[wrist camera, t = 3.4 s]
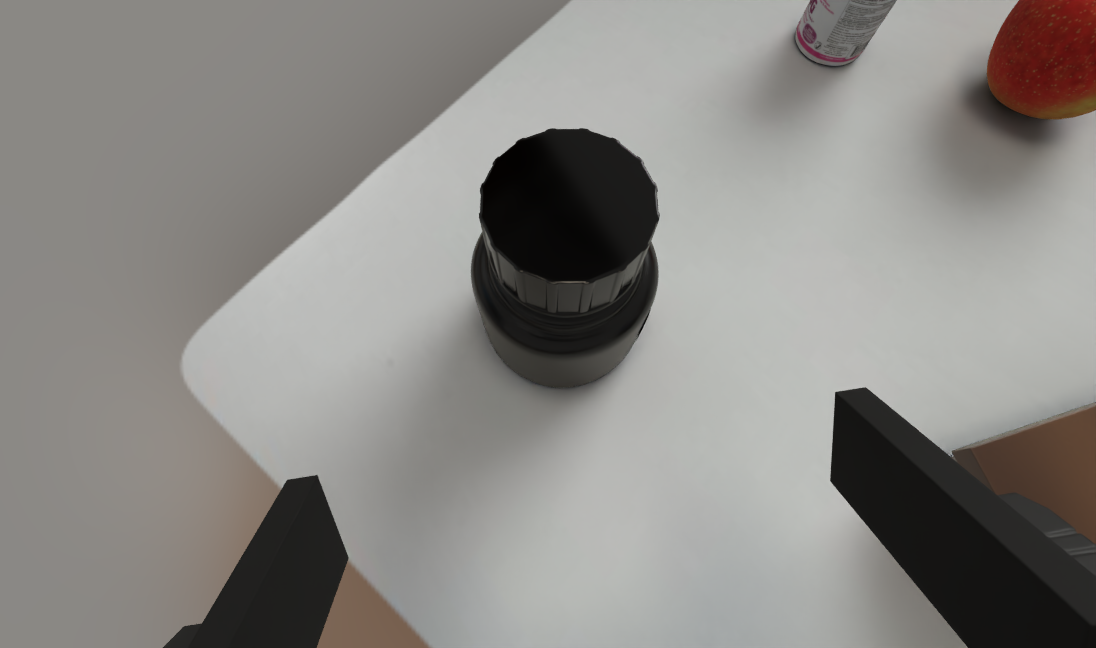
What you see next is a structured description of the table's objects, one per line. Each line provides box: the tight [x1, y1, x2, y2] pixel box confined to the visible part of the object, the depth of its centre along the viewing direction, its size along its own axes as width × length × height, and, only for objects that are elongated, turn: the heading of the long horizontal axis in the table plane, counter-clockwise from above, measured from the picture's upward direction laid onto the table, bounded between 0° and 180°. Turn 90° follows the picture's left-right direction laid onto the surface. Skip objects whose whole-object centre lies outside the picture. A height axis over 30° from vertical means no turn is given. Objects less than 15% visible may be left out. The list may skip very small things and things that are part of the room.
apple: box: [987, 0, 1096, 119], centre depth 33 cm, size 8×8×10 cm
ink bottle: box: [471, 128, 660, 388], centre depth 26 cm, size 10×9×12 cm
